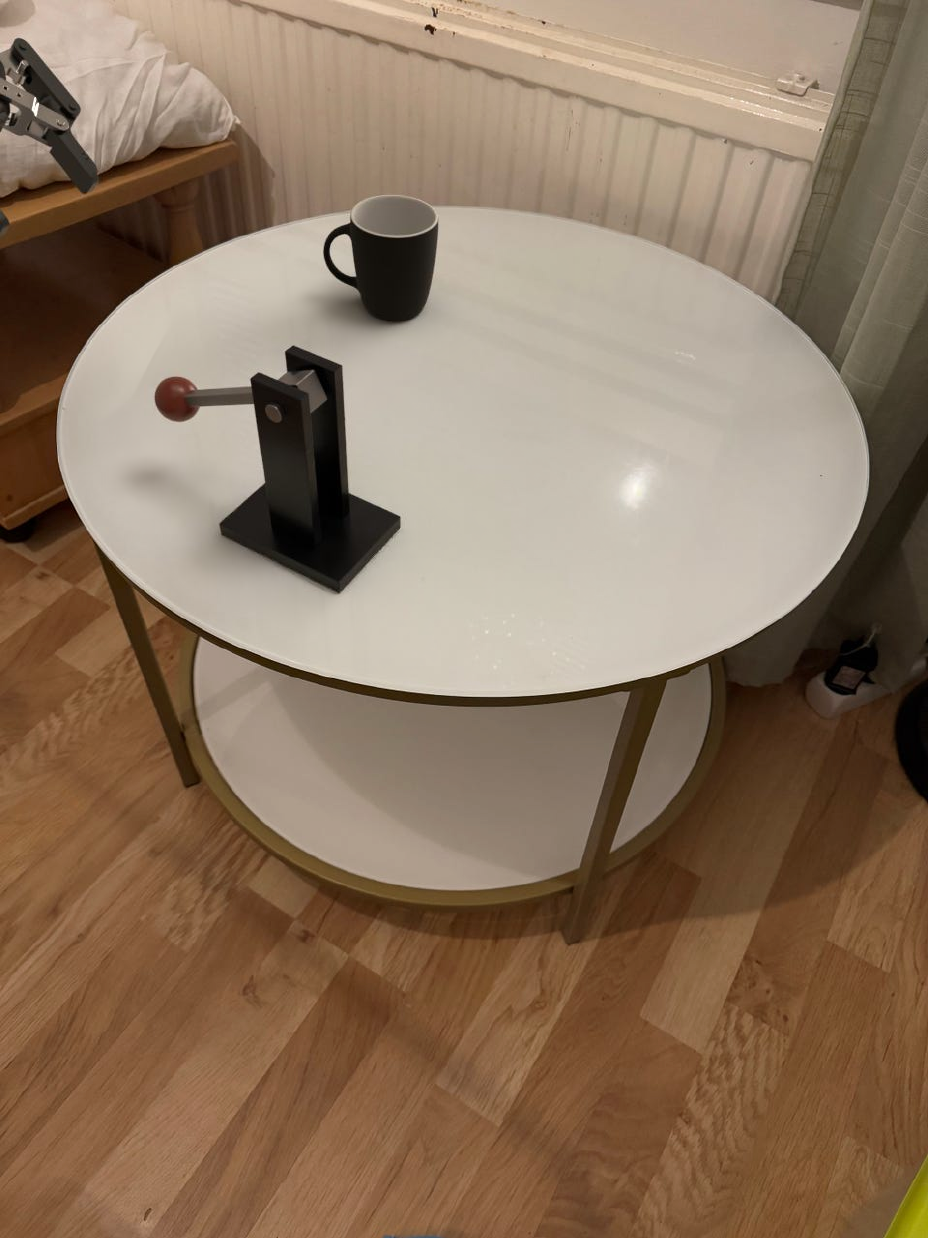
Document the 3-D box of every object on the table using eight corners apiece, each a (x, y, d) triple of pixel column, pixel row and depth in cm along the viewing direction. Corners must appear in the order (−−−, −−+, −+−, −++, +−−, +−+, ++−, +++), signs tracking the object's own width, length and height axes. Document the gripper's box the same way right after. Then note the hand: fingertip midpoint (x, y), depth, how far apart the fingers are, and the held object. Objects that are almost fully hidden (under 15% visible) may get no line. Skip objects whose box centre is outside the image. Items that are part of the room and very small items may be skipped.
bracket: (220, 534, 75) (187, 373, 63) (287, 475, 80) (268, 315, 68) (339, 593, 72) (329, 435, 60) (400, 527, 77) (402, 369, 65)
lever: (159, 430, 75) (137, 391, 72) (189, 408, 77) (168, 369, 75) (307, 427, 65) (286, 381, 63) (336, 401, 67) (317, 356, 65)
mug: (439, 288, 102) (443, 198, 94) (430, 332, 96) (433, 240, 88) (333, 277, 102) (328, 187, 94) (318, 321, 96) (312, 228, 89)
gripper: (-220, -22, 54) (-16, 222, 59) (-26, -72, 62) (138, 147, 68) (-230, 55, 59) (-43, 272, 65) (-51, 1, 68) (102, 197, 73)
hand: (49, 208), depth 66 cm, fingers open, 8 cm apart
